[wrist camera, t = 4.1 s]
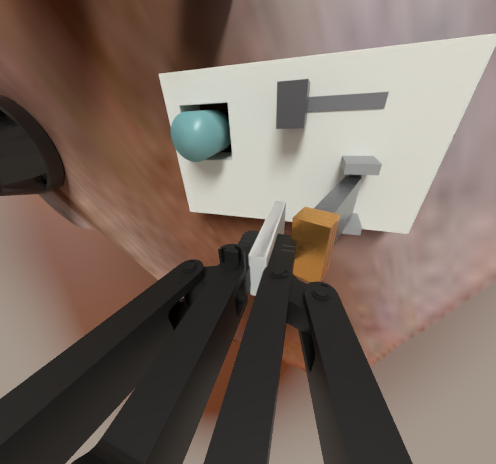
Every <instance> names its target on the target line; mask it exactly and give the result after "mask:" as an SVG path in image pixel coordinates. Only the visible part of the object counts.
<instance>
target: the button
mask: <svg viewBox="0 0 496 464" xmlns="http://www.w3.org/2000/svg"><path fill="white" fill-rule="evenodd" d="M171 138H172V142H173V144H174V146H175V148H176V150H177V151H178V153H179V154H180V155H181V156H182V157H184V158H185V159H187V160H189V161H192V162H200V161H203V160H205V159H207V158H209V157H211V156H213V155H215V154H217V153H219V152H221V151H223V150H224V149H226V148H227V147H228V146H229V145H230V143H231V137H230V125H229V119H228V117H227V116H226V115H225V114H224V113H222V112H221V111H218V110H201V111H187V112H182V113H180V114H178V115H177V116H176V117H175V118H174V120H173V122H172V125H171Z"/></svg>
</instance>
